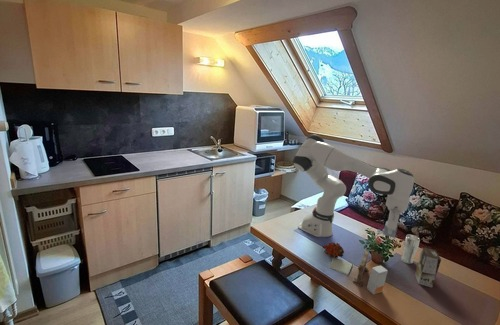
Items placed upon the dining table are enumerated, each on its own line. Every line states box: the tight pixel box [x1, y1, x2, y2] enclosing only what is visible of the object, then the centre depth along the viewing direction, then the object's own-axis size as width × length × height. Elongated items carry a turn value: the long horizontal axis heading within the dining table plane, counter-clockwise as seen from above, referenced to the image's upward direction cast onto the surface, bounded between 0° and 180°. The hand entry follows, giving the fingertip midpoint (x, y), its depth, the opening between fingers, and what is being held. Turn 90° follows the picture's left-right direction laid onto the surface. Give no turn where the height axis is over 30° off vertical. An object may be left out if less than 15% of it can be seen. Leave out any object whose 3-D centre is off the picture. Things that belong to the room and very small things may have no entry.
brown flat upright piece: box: [353, 248, 370, 287], centre depth 134 cm, size 16×4×11 cm, turn 148°
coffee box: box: [414, 247, 442, 288], centre depth 134 cm, size 9×6×16 cm
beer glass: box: [400, 234, 421, 265], centre depth 150 cm, size 7×7×15 cm
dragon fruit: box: [322, 241, 345, 259], centre depth 149 cm, size 8×8×12 cm
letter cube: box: [382, 220, 399, 239], centre depth 126 cm, size 5×5×5 cm
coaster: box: [328, 256, 353, 276], centre depth 142 cm, size 10×10×1 cm
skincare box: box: [366, 265, 389, 295], centre depth 125 cm, size 6×4×12 cm
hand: (389, 230), depth 126 cm, fingers closed on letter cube, 5 cm apart
